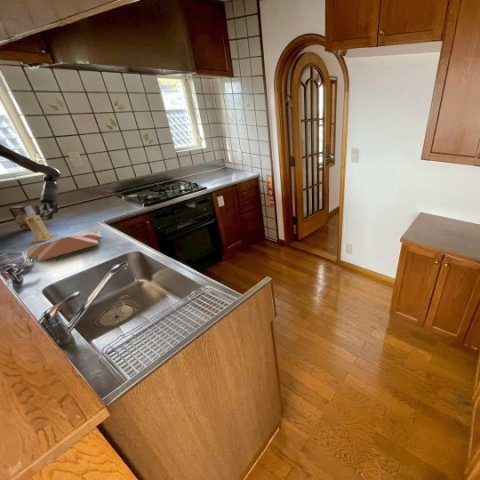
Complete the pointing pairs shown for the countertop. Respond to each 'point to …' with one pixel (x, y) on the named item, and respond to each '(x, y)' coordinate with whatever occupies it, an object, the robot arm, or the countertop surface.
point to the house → (63, 246)
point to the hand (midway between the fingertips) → (46, 219)
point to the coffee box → (22, 215)
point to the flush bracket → (39, 229)
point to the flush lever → (41, 218)
